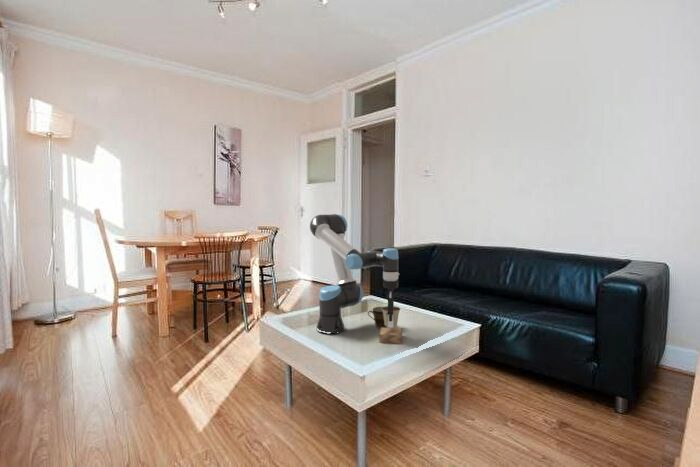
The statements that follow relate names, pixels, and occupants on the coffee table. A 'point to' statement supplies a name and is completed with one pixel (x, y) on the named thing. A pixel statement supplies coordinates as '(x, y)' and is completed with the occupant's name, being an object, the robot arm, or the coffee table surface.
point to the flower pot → (395, 315)
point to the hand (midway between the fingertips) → (390, 324)
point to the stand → (390, 335)
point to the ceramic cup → (378, 317)
